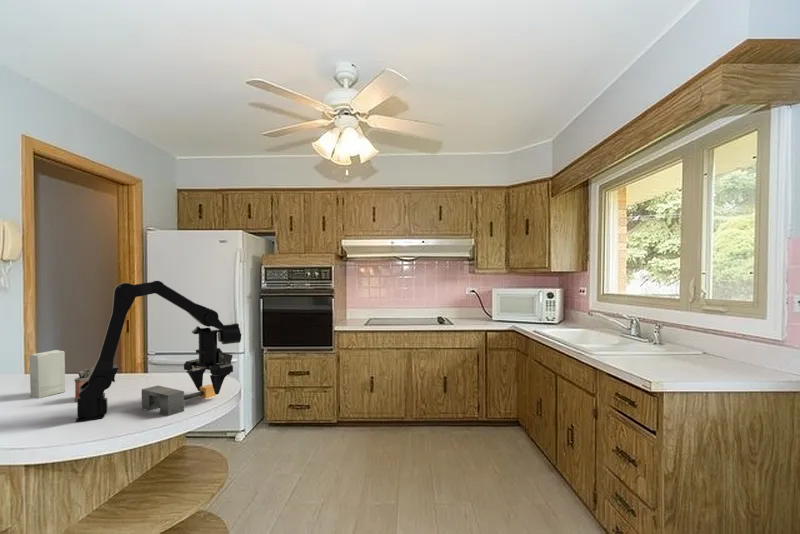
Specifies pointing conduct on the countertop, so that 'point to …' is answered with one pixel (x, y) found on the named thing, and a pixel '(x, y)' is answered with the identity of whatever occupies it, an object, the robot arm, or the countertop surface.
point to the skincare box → (47, 373)
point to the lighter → (81, 381)
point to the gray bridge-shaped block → (163, 400)
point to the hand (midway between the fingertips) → (208, 392)
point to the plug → (202, 392)
